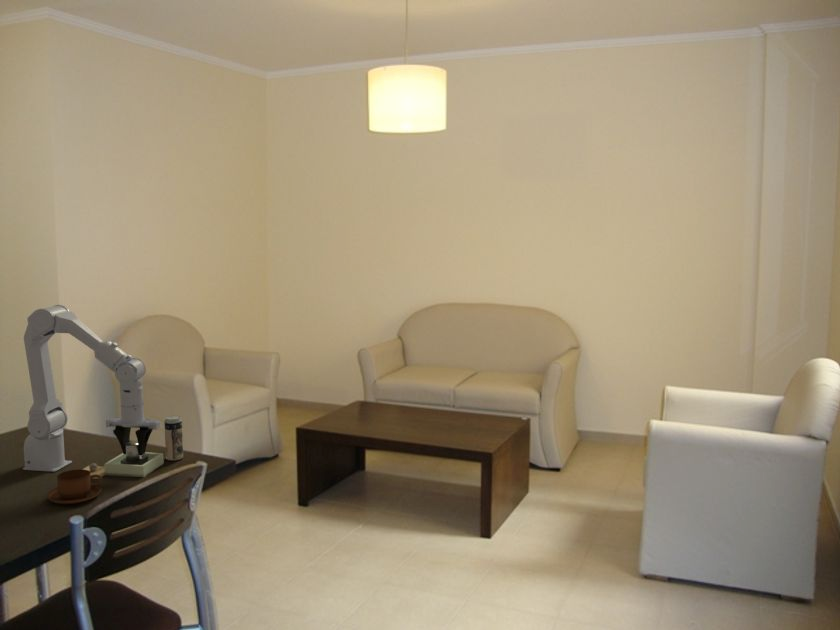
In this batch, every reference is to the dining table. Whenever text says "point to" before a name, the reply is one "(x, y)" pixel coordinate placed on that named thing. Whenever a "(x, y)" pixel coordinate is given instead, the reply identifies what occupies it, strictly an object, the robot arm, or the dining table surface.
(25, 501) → the dining table surface
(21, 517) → the dining table surface
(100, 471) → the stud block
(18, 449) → the dining table surface
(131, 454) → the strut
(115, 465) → the tray
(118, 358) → the robot arm
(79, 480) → the cup and saucer
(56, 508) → the dining table surface
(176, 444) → the lidded jar
